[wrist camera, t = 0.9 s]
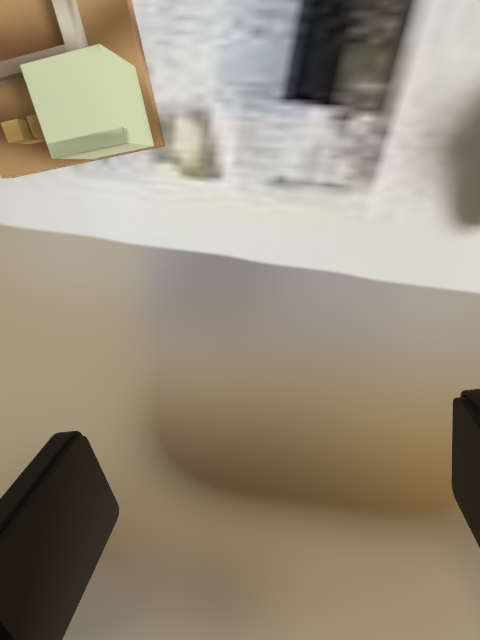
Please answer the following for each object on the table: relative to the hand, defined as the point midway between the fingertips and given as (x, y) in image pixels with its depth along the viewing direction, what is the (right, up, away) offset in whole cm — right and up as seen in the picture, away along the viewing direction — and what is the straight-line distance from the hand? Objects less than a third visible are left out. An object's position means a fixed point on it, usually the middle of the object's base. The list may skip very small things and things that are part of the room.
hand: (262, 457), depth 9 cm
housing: (-12, +21, +22) cm, 33 cm away
